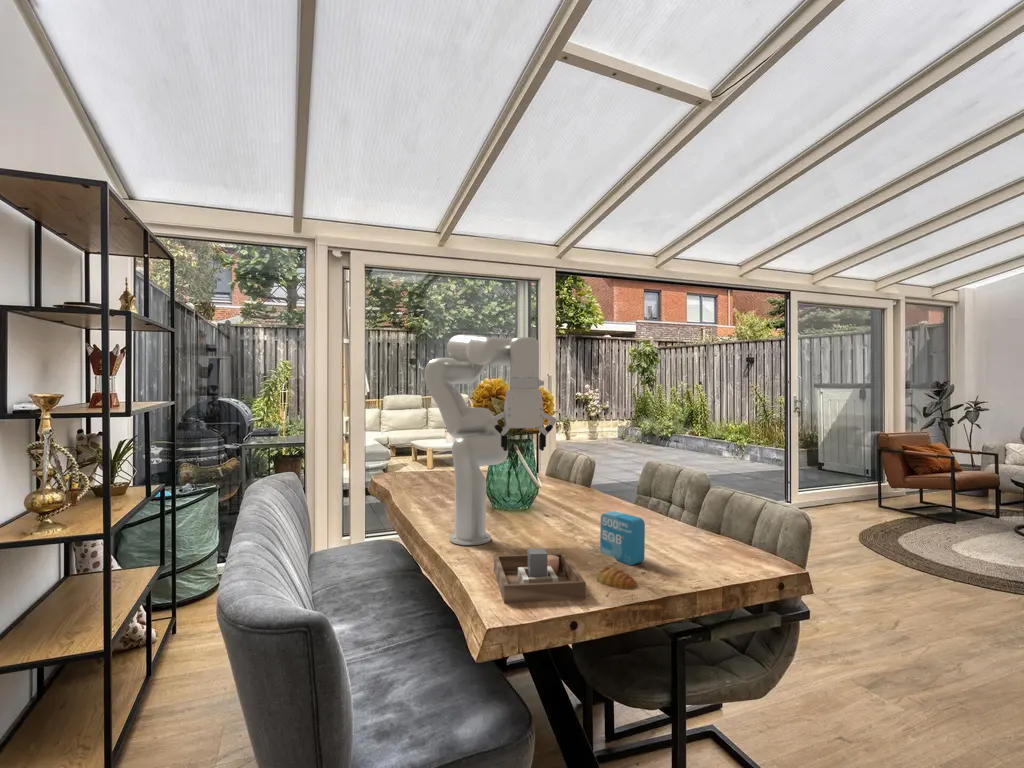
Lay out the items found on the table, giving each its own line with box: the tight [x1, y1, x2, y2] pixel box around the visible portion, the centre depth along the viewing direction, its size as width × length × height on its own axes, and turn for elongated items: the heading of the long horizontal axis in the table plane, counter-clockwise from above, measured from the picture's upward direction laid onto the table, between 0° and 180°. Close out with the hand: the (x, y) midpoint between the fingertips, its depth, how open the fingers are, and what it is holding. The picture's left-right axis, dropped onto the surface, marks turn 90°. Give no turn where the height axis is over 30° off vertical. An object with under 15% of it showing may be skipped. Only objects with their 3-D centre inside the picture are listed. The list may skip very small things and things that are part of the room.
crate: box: [493, 552, 587, 604], centre depth 127 cm, size 20×18×4 cm
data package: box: [599, 510, 646, 566], centre depth 147 cm, size 12×4×12 cm, turn 39°
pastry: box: [596, 566, 638, 590], centre depth 128 cm, size 9×7×4 cm
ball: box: [547, 555, 559, 576], centre depth 133 cm, size 4×4×4 cm
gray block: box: [527, 547, 549, 577], centre depth 126 cm, size 4×4×8 cm
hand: (523, 450), depth 141 cm, fingers open, 9 cm apart
